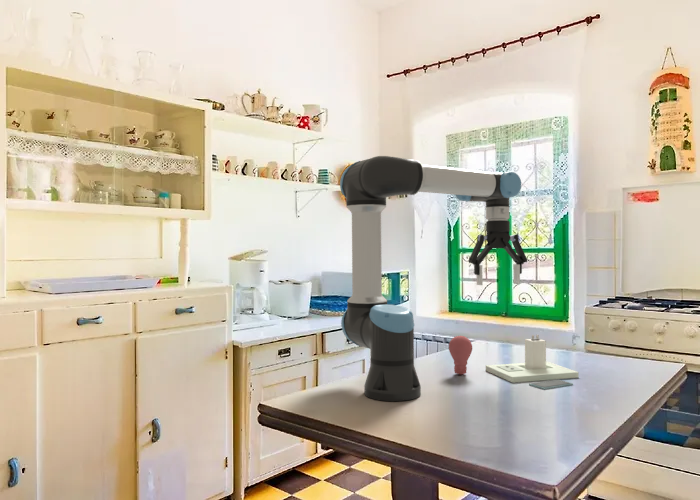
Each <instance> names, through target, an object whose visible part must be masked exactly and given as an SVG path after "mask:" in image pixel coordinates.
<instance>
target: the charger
mask: <svg viewBox="0 0 700 500" xmlns="http://www.w3.org/2000/svg"><path fill="white" fill-rule="evenodd" d="M535 336H536V337H535ZM546 361H547V340H544V339H542V338H541V339H540V338H539V334H536V335H534V334H531V338H525V339H524V363H525V369H527V370H532V369H546Z"/></svg>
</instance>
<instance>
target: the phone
mask: <svg viewBox="0 0 700 500" xmlns="http://www.w3.org/2000/svg"><path fill="white" fill-rule="evenodd" d="M528 385H529V386H530V387H534V388H537V389H540V390H543V391H546V390H551V389H556V388H563V387H570V386H571V387H572V386H573V385H574V383H572V382H569V381H566V380H561V379H552V380H543V381H539V382H538V381H536V382H531V383H529V384H528Z"/></svg>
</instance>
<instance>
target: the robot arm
mask: <svg viewBox="0 0 700 500" xmlns="http://www.w3.org/2000/svg"><path fill="white" fill-rule="evenodd" d="M339 188H340V192H341V193H342V194H341V195H343V196H344V198H345V200H346V203H345V204H346V208H347V209H348V211H350V213H351V262H352V263H351V265H352V266H351V267H352V269H351V270H352V271H351V272H352V273H351V277H352V290H351V291H352V294H351V296H350V297H348V299H347V301H346V302H347V303H346V304H347V305H346V306H347V309H346V310H345V312H344V313H343V314H342V316H341V321H340V324H341V330H342V333H343V334H344V336H345V337H346V338H347V340H348V341H350V342H351V343H353V344H354V345H356V346H359V347H363V348H367V349H370V366H369V370H368V373H367V376H366V379H365V382H364V386H363V387H364V388H363V389H364V390H363V391H364V395H365V397H367V398H369V399H372V400H375V401H383V402H402V401H411V400H414V399H417V398H419V397H420V396H421V394H422V390H421V389H422V388H421V384H420V380H419V377H418V374H417V371H416V368H415V357H414V356H415V353H414V352H415V348H414V347H415V345H414V344H415V343H414V342H415V341H414V340H415V338H414V336H415V335H414V334H415V331H414V329H415V323H414V314H413V312H412V310H411V309H409V308H407V307H405V306H402V305H395V304H388V299H386V298H385V296H383V294H382V292H383V288H382V283H383V282H382V278H383V277H382V213H383V211H384V210H385V209H386V208H387V198H390V197H395V196H401V195H402V196H404V195H410V196H415V195H416V194H418V193H420V192H421V193H430V194H443V195H454V196H455V197H456V199H457V200H458V201H461V202H466V203H469V202H474V203H475V202H479V203H480V202H482V203H484V202H485V219H486V220H487V221H486V222H485V227H486V228H485V231H486V235H484V234H477V236H476V238H477V239H476V242H475V245H474V247H473V250H472V251H471V254H470V256H469V259H468V260H467V261H468V263H469V264H472V265H473V274H474V275H475V276H476V286H483V264H482V265H481V263H482V262H483V261H484V259H485V258H486V257H487V256H488V254H489V253H490V252H491V250H493V249H503V250H505V252H506V253H507V254H508V255H509V257H510V258H511V259H512V260H513V261H514V264H513V284H514V285H520V284H521V274H522V272H523V266H522V265H524V263H527V262H528V258H527V257H526V254H525V251H524V249H523V247H522V245H521V243H520V241H519V235H518V234H512V235H511V234H510V229H511V227H510V221H509V219H510V198H513V197H516V196H517V195H519V193H520V192H521V190H522V180H521V177H520V176H519V175H518V173H516V172H514V171H504V172H491V171H484V170H483V171H482V170H474V169H466V168H458V167H455V168H454V167H447V166H439V165H429V164H422V163H421V162H420V161H419V160H417V159H411V158H404V157H395V156H389V155H377V156H374V157H370V158H367V159H364V160H363V159H362V160H358V161H356V162H354V163H352V164H351V165H349V166H347V167H346V168H345V169H344V171H343V173H342V174H341V177H340V181H339ZM510 241H511V244H512V245H513V247H512V245H511V244H510ZM484 242H487V243H486V244H485V246H484V247H483V245H484ZM482 247H483V249H482ZM513 248H514V249H513ZM481 249H482V251H481ZM480 251H481V252H480Z"/></svg>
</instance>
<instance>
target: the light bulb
mask: <svg viewBox="0 0 700 500" xmlns="http://www.w3.org/2000/svg"><path fill="white" fill-rule="evenodd" d="M448 351H449V353H450V356H451V358H452V359H453V364H454V366H453V371H454V373H455V374H458V375H459V376H460V375H464V374H467V365H468V360H469V358H470V357H471V354H472V351H473V344H472V342H471V341H470V339H469V338H468V337H466V336H464V335H456V336H454V337H453V338H452V339H450V340H449V343H448Z"/></svg>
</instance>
